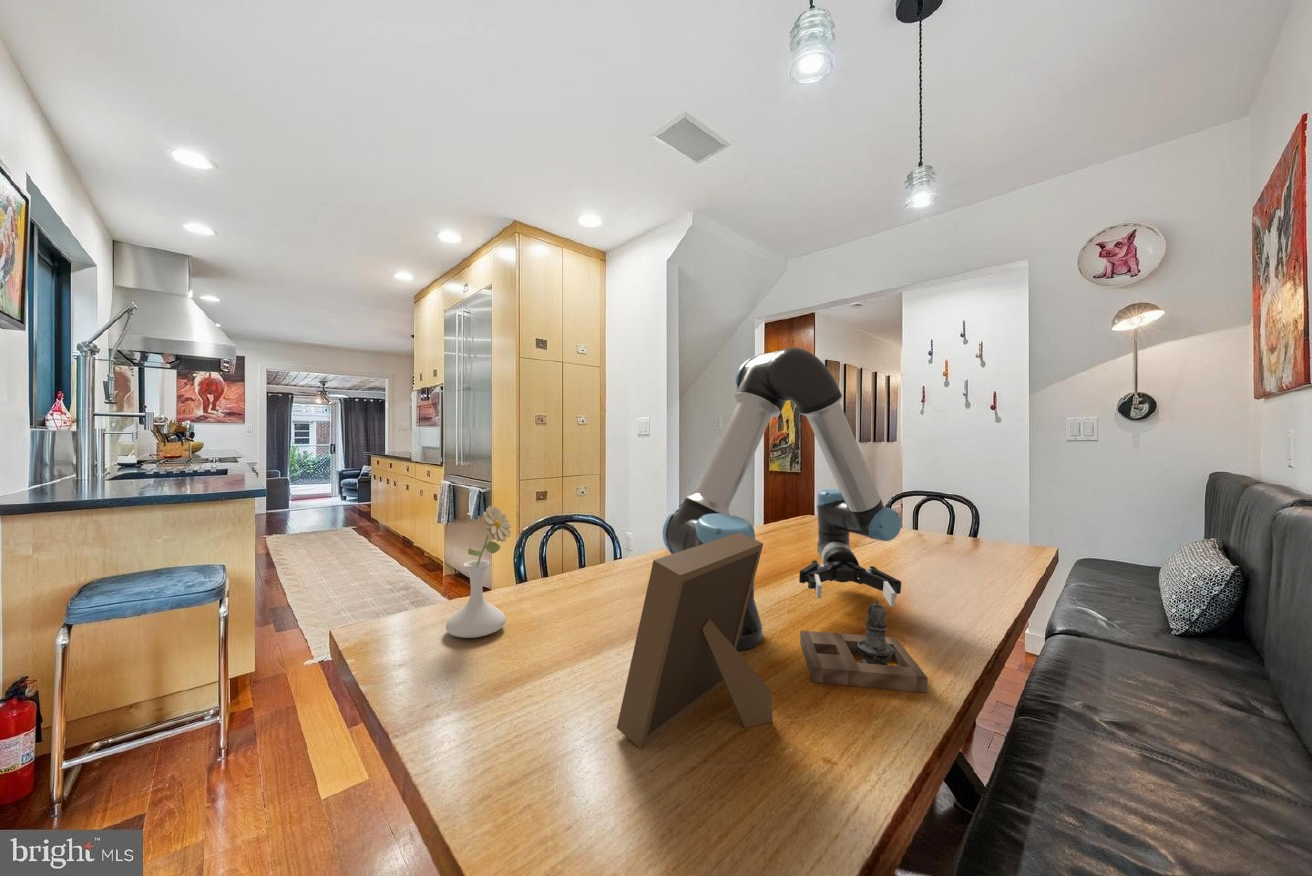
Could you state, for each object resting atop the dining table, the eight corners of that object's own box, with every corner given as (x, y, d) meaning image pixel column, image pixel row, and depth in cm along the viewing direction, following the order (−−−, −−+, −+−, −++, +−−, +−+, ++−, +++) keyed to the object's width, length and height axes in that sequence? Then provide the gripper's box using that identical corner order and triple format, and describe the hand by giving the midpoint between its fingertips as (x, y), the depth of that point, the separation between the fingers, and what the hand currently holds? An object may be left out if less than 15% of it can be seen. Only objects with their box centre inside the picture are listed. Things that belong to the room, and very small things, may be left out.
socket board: (812, 682, 79) (813, 667, 79) (800, 643, 93) (800, 630, 93) (926, 692, 76) (927, 677, 76) (895, 650, 90) (896, 637, 90)
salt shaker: (900, 676, 81) (901, 606, 81) (865, 675, 81) (866, 605, 81) (884, 659, 87) (886, 594, 87) (851, 658, 87) (853, 593, 87)
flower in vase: (466, 649, 89) (466, 515, 88) (434, 633, 95) (434, 508, 95) (524, 626, 99) (525, 506, 98) (491, 613, 106) (492, 500, 105)
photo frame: (616, 735, 65) (621, 551, 64) (705, 672, 81) (710, 526, 81) (708, 790, 55) (715, 576, 54) (788, 707, 72) (794, 542, 71)
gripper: (895, 583, 112) (924, 622, 91) (785, 571, 118) (789, 606, 97) (897, 551, 112) (926, 584, 91) (786, 541, 117) (790, 570, 96)
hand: (855, 595), depth 94 cm, fingers open, 13 cm apart
